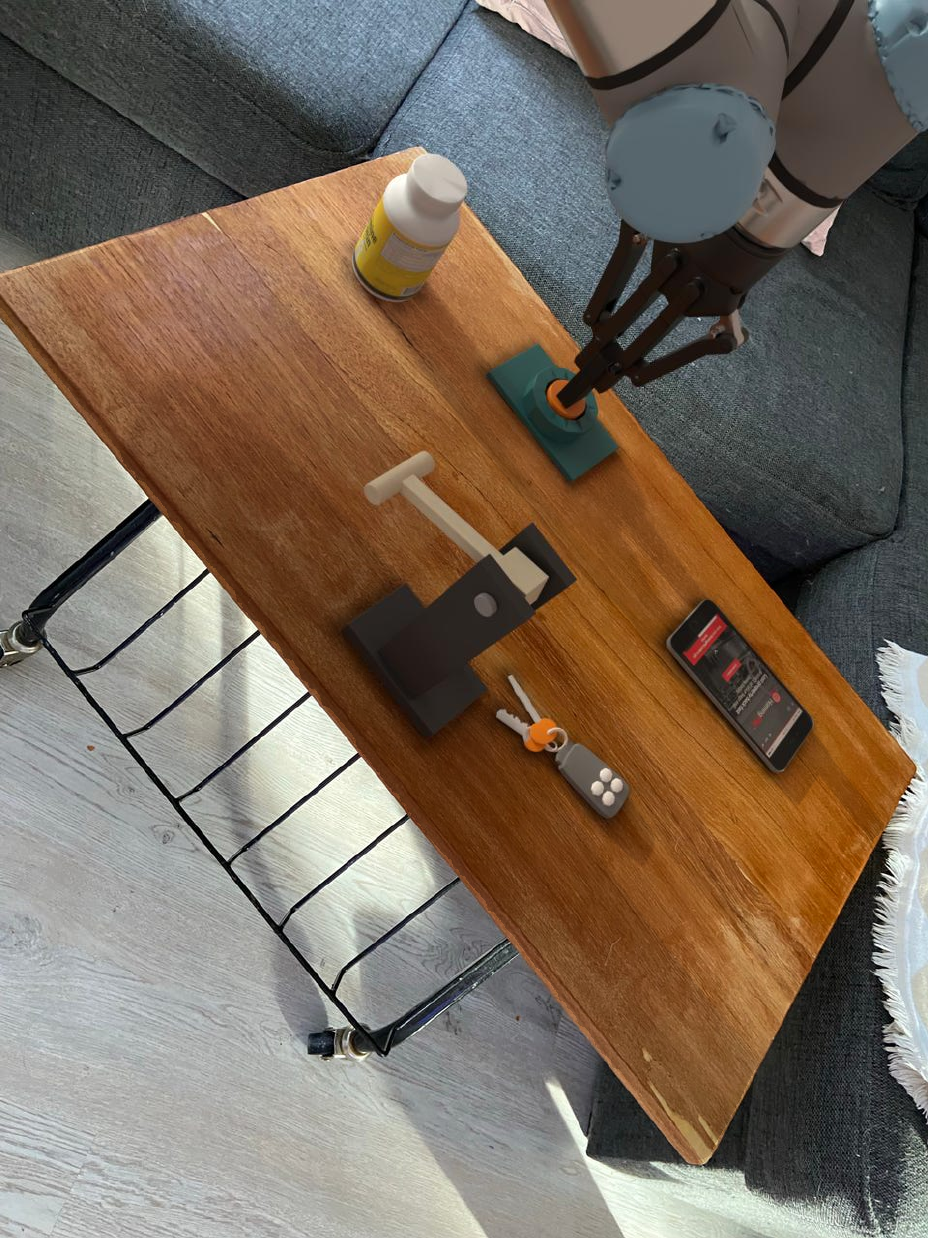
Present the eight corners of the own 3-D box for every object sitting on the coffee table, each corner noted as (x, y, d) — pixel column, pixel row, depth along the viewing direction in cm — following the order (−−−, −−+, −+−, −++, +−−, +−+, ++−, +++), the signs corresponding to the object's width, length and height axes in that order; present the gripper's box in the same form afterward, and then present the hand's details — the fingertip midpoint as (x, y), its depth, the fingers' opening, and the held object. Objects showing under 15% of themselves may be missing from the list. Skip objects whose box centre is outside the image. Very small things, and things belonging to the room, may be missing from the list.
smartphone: (708, 595, 87) (816, 722, 87) (703, 598, 88) (811, 725, 88) (666, 642, 83) (780, 775, 83) (661, 644, 84) (774, 777, 84)
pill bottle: (378, 230, 86) (432, 130, 76) (432, 283, 87) (493, 190, 77) (334, 264, 82) (385, 163, 73) (391, 318, 83) (449, 226, 73)
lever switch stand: (340, 630, 71) (443, 526, 56) (398, 590, 74) (510, 481, 59) (425, 740, 71) (550, 664, 56) (479, 694, 74) (611, 612, 59)
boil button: (532, 399, 86) (542, 388, 84) (557, 384, 88) (567, 373, 86) (557, 432, 86) (568, 421, 84) (582, 416, 88) (592, 405, 86)
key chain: (626, 787, 77) (637, 784, 76) (604, 823, 75) (615, 820, 74) (508, 675, 76) (517, 669, 75) (482, 708, 74) (491, 702, 73)
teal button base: (485, 375, 86) (498, 359, 84) (534, 347, 90) (548, 330, 87) (569, 484, 86) (584, 470, 83) (615, 450, 89) (631, 437, 87)
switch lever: (360, 500, 61) (367, 474, 59) (415, 466, 64) (423, 440, 62) (499, 629, 58) (511, 606, 56) (551, 588, 61) (563, 565, 59)
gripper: (664, 143, 63) (496, 352, 83) (788, 302, 63) (591, 474, 83) (724, 117, 68) (550, 322, 87) (840, 266, 67) (640, 438, 87)
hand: (570, 396), depth 85 cm, fingers closed
